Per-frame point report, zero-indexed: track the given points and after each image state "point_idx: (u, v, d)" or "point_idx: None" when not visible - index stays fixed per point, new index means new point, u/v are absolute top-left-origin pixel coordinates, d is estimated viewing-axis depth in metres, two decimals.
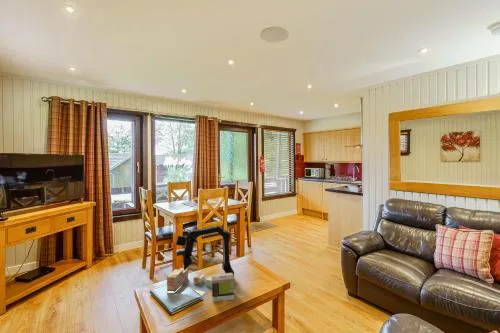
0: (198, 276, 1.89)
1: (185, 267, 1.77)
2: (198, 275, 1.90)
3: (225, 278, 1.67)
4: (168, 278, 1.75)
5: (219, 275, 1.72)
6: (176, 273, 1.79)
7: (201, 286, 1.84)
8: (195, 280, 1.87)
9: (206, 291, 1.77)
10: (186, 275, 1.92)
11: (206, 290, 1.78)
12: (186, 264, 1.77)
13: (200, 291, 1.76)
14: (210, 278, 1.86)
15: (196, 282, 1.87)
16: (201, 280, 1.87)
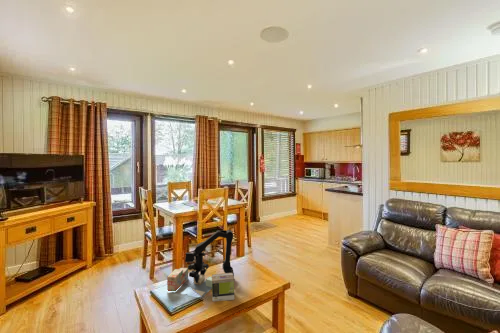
0: None
1: (196, 280, 1.86)
2: None
3: (225, 278, 1.67)
4: (168, 278, 1.75)
5: (219, 275, 1.72)
6: (176, 273, 1.80)
7: (201, 286, 1.84)
8: None
9: (206, 291, 1.77)
10: (186, 275, 1.92)
11: (206, 290, 1.78)
12: (196, 277, 1.85)
13: (200, 291, 1.76)
14: (210, 278, 1.86)
15: None
16: (201, 280, 1.87)
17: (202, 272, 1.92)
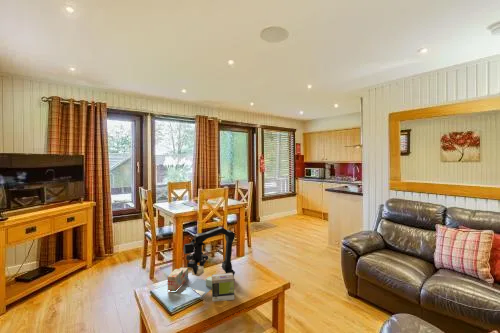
0: None
1: (194, 271, 1.77)
2: None
3: (225, 278, 1.67)
4: (169, 278, 1.75)
5: (219, 275, 1.72)
6: (176, 273, 1.80)
7: (201, 286, 1.84)
8: None
9: (206, 291, 1.77)
10: (186, 275, 1.93)
11: (206, 290, 1.78)
12: (194, 268, 1.77)
13: (200, 291, 1.76)
14: (210, 278, 1.86)
15: None
16: (200, 271, 1.78)
17: (201, 263, 1.84)
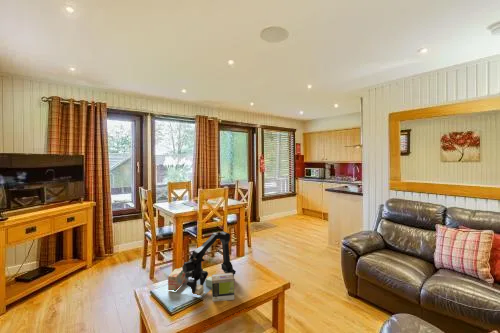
0: (196, 287, 1.73)
1: (193, 290, 1.68)
2: None
3: (225, 278, 1.67)
4: (169, 277, 1.76)
5: (219, 275, 1.72)
6: (177, 272, 1.81)
7: None
8: None
9: (206, 291, 1.77)
10: None
11: (206, 290, 1.78)
12: (193, 287, 1.68)
13: None
14: (210, 278, 1.86)
15: None
16: (200, 291, 1.71)
17: (202, 279, 1.78)
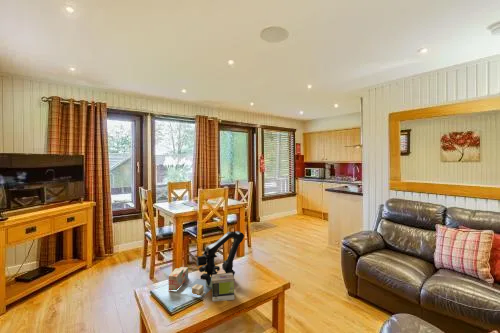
0: (196, 287, 1.73)
1: (208, 282, 1.82)
2: (196, 286, 1.75)
3: (225, 278, 1.67)
4: (170, 277, 1.76)
5: (219, 275, 1.72)
6: (177, 272, 1.81)
7: None
8: (193, 291, 1.71)
9: (206, 291, 1.77)
10: (186, 274, 1.94)
11: (206, 290, 1.78)
12: (208, 280, 1.82)
13: None
14: None
15: (194, 293, 1.71)
16: (200, 291, 1.71)
17: None
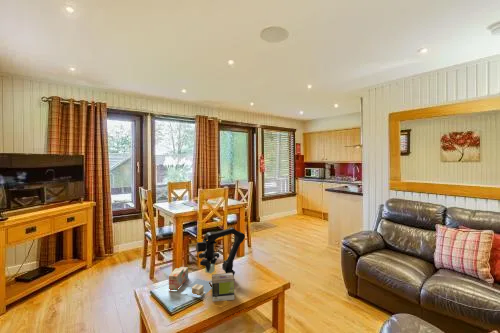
0: (196, 287, 1.73)
1: (207, 269, 1.82)
2: (196, 286, 1.75)
3: (225, 278, 1.67)
4: (170, 277, 1.76)
5: (219, 275, 1.72)
6: (177, 272, 1.81)
7: None
8: (193, 291, 1.71)
9: (206, 291, 1.77)
10: (186, 274, 1.94)
11: (206, 290, 1.78)
12: (207, 266, 1.81)
13: None
14: None
15: (194, 293, 1.71)
16: (200, 291, 1.71)
17: (212, 261, 1.88)
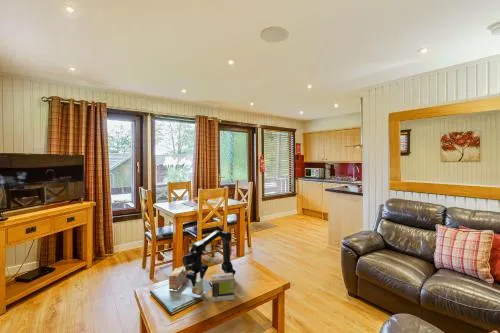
0: None
1: (193, 283, 1.68)
2: None
3: (225, 278, 1.67)
4: (170, 277, 1.77)
5: (219, 275, 1.72)
6: (178, 272, 1.82)
7: None
8: (193, 291, 1.71)
9: (206, 291, 1.77)
10: (186, 273, 1.94)
11: (206, 290, 1.78)
12: (193, 280, 1.68)
13: None
14: (197, 279, 1.73)
15: (194, 293, 1.71)
16: (200, 291, 1.71)
17: (202, 272, 1.78)
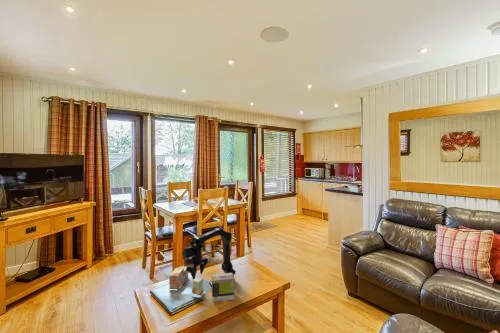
0: None
1: (193, 276, 1.68)
2: None
3: (225, 278, 1.67)
4: (170, 276, 1.77)
5: (219, 275, 1.72)
6: (178, 271, 1.82)
7: None
8: (193, 291, 1.71)
9: (206, 291, 1.77)
10: (186, 273, 1.95)
11: (206, 290, 1.78)
12: (192, 273, 1.68)
13: None
14: (197, 279, 1.73)
15: (194, 293, 1.71)
16: (200, 291, 1.71)
17: (202, 266, 1.77)
